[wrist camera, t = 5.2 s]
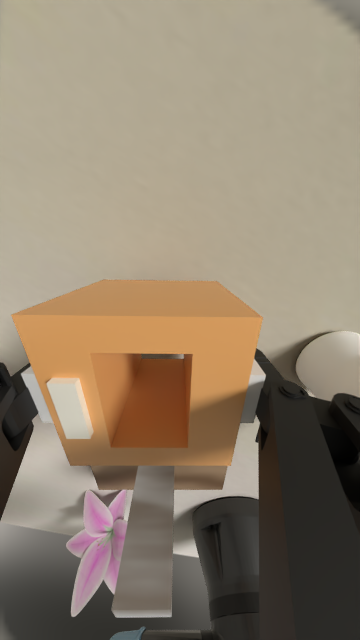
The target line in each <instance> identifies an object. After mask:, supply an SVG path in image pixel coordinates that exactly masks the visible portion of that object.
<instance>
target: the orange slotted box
mask: <svg viewBox="0 0 360 640" xmlns="http://www.w3.org/2000/svg"><path fill="white" fill-rule="evenodd" d="M11 316H12V318H13V321H14V323H15V326H16V328H17V331H18V333H19V336H20V339H21V341H22V344H23V346H24V349H25V351H26V354H27V356H28V359H29V361H30V364H31V367H32V369H33V372H34V374H35V377H36V379H37V382H38V384H39V387H40V389H41V392H42V395H43V397H44V400H45V402H46V405H47V407H48V410H49V412H50V415H51V418H52V420H53V423H54V425H55V428H56V430H57V433H58V435H59V438H60V440H61V443H62V446H63V448H64V451H65V453H66V456H67V458H68V461H69V463H70V466H231V462H232V457H233V453H234V448H235V444H236V439H237V434H238V430H239V425H240V421H241V416H242V411H243V407H244V402H245V398H246V393H247V388H248V384H249V379H250V375H251V370H252V365H253V361H254V356H255V352H256V347H257V342H258V338H259V333H260V329H261V324H262V319H263V317H262V316H260V315H259V314H258V313H256V312H255V311H254V310H253V309H251V308H250V307H249V306H248V305H246V304H245V303H244V302H243V301H241V300H240V299H239V298H237V297H236V296H235V295H234V294H232V293H231V292H230V291H229V290H227V289H226V288H225V287H223V286H222V285H221V284H220V283H218V282H217V281H155V280H102V281H99V282H96V283H94V284H91V285H88V286H86V287H83V288H80V289H78V290H75V291H73V292H70V293H67V294H65V295H62V296H59V297H57V298H54V299H51V300H49V301H46V302H44V303H41V304H38V305H36V306H33V307H30V308H28V309H25V310H23V311H20V312H17V313H15V314H12V315H11ZM141 354H184V359H142V358H141Z"/></svg>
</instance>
